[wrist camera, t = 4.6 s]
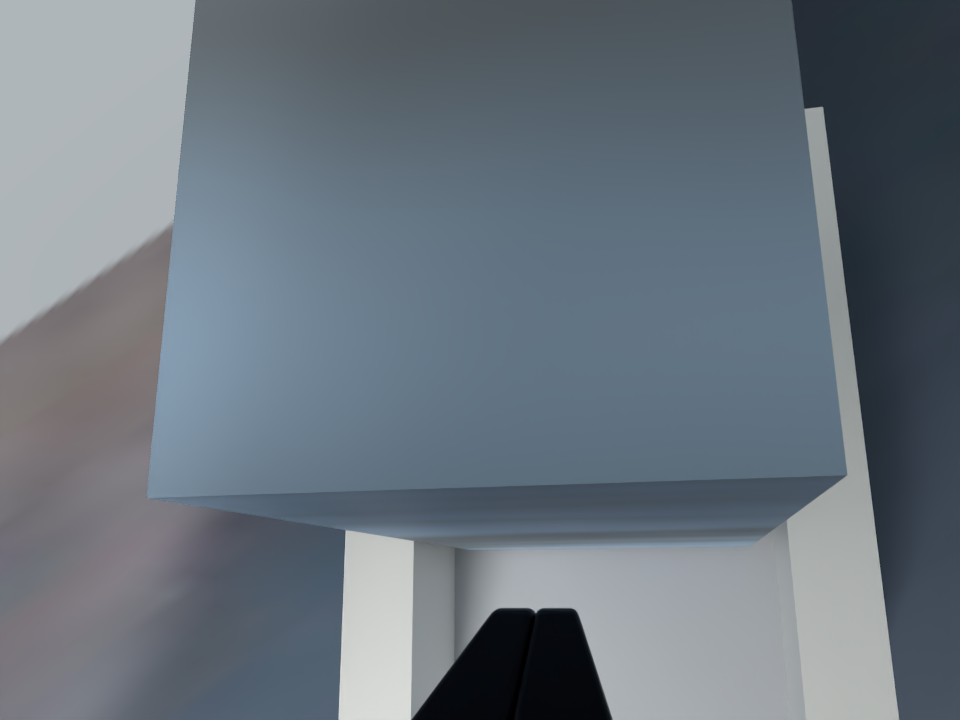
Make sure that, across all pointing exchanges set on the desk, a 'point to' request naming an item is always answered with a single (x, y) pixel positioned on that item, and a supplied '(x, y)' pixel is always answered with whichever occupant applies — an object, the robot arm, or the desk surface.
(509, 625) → the robot arm
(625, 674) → the chute
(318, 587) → the desk surface
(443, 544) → the block
